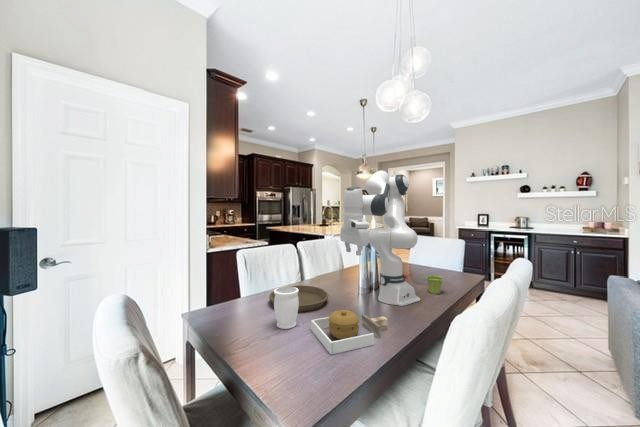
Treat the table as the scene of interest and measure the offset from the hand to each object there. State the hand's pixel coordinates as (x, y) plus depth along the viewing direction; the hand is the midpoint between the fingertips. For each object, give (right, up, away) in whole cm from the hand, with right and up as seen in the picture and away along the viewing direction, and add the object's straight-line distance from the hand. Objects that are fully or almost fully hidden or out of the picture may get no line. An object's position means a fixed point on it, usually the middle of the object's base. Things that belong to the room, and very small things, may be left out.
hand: (353, 253), depth 118 cm
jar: (-29, -30, -7) cm, 42 cm away
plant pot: (+52, -29, +36) cm, 69 cm away
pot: (-6, -30, -17) cm, 35 cm away
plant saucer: (-26, -29, +20) cm, 44 cm away
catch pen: (-7, -30, -17) cm, 35 cm away
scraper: (+9, -30, -11) cm, 33 cm away
